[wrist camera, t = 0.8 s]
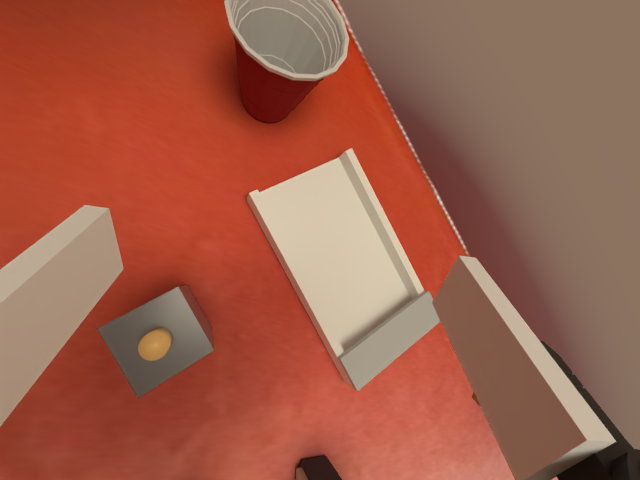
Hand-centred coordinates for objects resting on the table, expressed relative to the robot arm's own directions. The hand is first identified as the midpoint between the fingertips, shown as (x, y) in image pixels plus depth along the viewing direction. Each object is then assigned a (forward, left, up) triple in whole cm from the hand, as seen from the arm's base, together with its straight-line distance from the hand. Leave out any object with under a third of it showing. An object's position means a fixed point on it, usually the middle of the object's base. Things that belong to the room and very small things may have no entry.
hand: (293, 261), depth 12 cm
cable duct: (+5, +12, -22) cm, 25 cm away
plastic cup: (-17, +13, -22) cm, 31 cm away
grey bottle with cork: (+1, -7, -22) cm, 23 cm away
